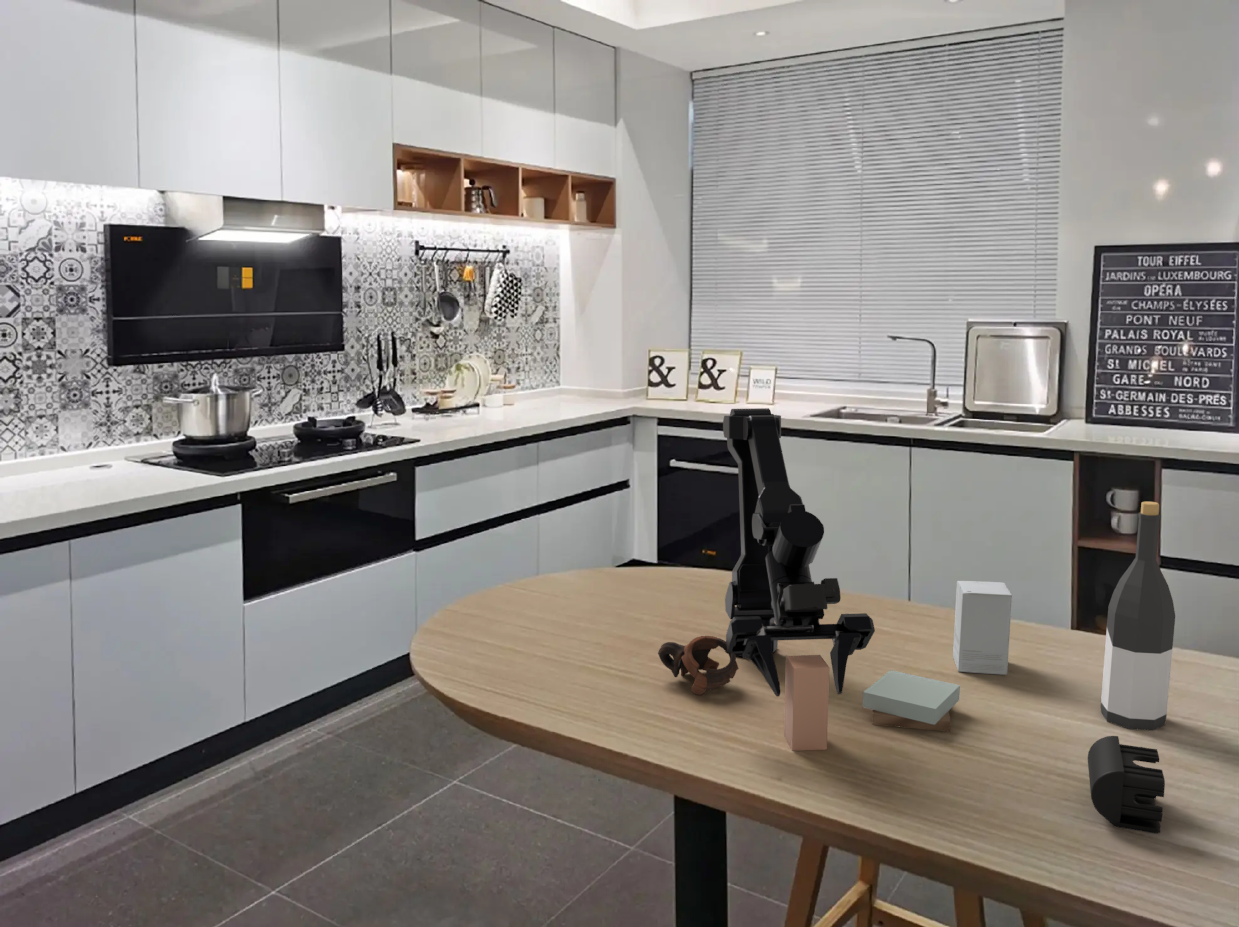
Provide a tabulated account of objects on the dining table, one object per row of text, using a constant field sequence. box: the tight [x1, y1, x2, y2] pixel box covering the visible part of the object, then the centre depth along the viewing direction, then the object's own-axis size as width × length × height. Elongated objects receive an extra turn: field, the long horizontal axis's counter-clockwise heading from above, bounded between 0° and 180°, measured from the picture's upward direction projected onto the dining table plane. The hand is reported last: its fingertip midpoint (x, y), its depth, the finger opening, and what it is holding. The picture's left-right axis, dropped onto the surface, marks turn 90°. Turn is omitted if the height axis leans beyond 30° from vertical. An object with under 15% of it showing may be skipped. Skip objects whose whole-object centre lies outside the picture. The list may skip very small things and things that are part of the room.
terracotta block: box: [783, 654, 830, 752], centre depth 136 cm, size 4×4×11 cm
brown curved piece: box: [657, 635, 739, 696], centre depth 156 cm, size 12×10×8 cm
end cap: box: [1087, 735, 1166, 834], centre depth 119 cm, size 10×7×7 cm
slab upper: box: [862, 669, 961, 725], centre depth 145 cm, size 10×10×2 cm
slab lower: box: [871, 710, 951, 732], centre depth 146 cm, size 10×10×2 cm
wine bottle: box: [1100, 500, 1176, 731], centre depth 141 cm, size 8×8×30 cm
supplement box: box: [952, 580, 1013, 676], centre depth 163 cm, size 7×7×13 cm
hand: (809, 694), depth 134 cm, fingers open, 8 cm apart
